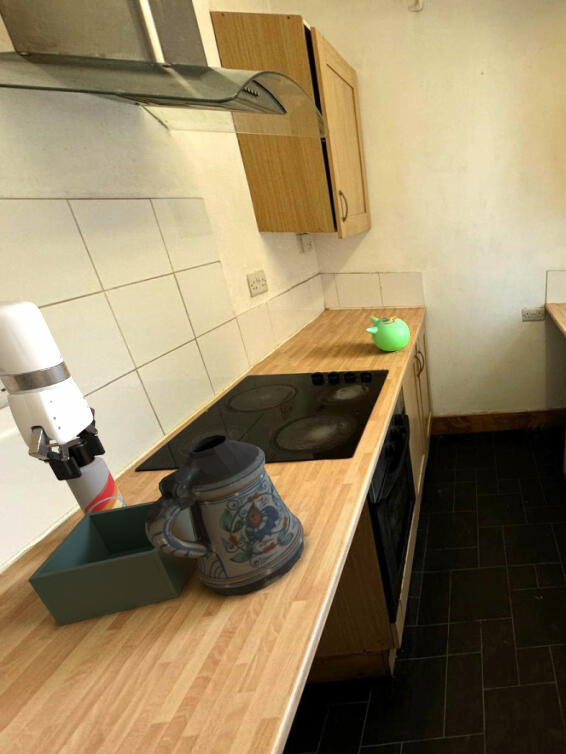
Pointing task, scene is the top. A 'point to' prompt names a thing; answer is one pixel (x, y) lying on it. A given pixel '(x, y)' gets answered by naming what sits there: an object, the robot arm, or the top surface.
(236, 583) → the beer stein
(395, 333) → the green space hopper
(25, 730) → the top surface
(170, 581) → the bin
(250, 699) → the top surface
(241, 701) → the top surface
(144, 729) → the top surface
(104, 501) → the lotion bottle
